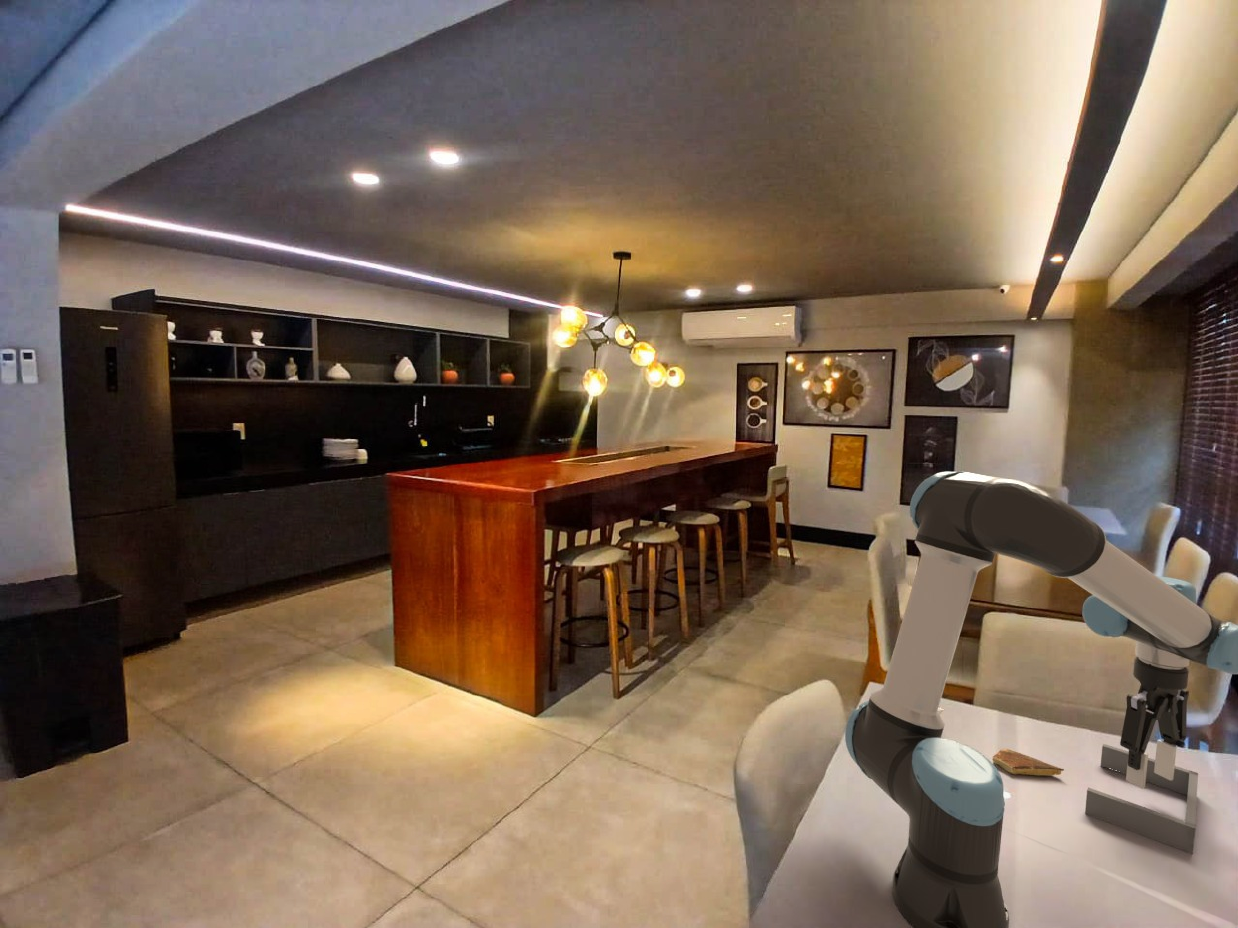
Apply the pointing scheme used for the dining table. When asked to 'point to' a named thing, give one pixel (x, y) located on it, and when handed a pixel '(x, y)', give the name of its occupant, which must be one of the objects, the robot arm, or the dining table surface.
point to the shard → (1023, 764)
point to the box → (1144, 818)
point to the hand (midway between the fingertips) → (1149, 779)
